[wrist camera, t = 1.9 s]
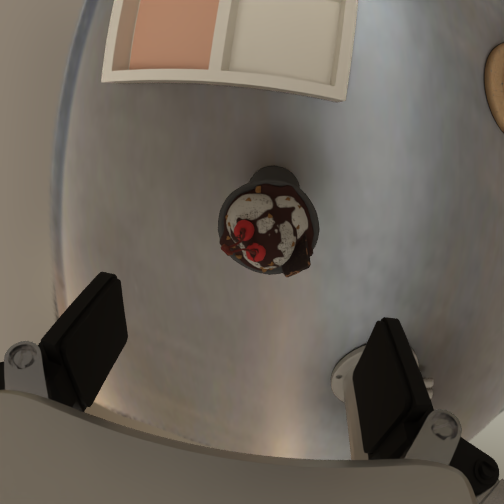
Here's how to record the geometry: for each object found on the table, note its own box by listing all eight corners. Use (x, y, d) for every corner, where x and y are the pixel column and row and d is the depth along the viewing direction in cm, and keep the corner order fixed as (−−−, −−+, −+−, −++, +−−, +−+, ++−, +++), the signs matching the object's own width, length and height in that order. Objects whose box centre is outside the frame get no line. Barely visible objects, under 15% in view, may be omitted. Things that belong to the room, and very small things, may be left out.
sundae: (230, 166, 29) (180, 218, 15) (300, 150, 27) (316, 189, 14) (247, 229, 31) (218, 323, 18) (314, 216, 30) (334, 306, 17)
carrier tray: (350, -1, 20) (359, -15, 17) (337, 102, 25) (345, 100, 22) (137, -11, 21) (119, -22, 17) (121, 83, 26) (101, 82, 22)
